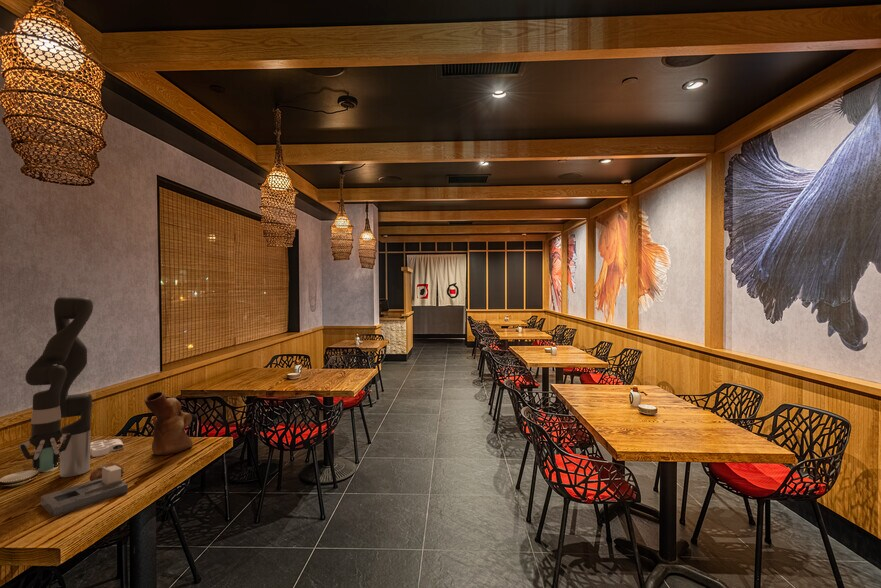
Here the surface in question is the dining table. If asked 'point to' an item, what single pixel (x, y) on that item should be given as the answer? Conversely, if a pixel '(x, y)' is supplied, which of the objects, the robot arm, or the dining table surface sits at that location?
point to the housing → (81, 496)
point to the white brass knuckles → (105, 447)
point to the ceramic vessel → (168, 424)
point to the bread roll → (98, 471)
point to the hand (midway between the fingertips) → (45, 466)
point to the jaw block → (111, 474)
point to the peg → (46, 459)
